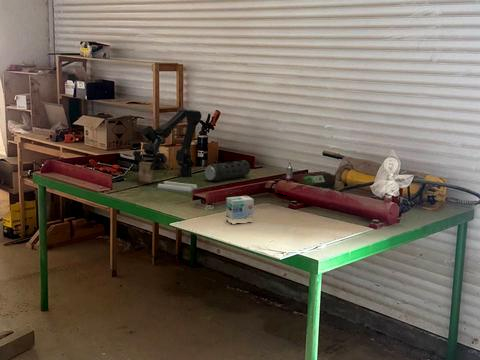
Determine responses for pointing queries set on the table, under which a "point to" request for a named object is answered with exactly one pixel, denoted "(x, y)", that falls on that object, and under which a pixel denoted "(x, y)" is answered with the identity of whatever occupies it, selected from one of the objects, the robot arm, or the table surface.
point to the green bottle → (315, 179)
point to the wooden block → (145, 172)
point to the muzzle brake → (227, 170)
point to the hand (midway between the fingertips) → (144, 169)
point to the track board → (177, 187)
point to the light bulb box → (239, 207)
